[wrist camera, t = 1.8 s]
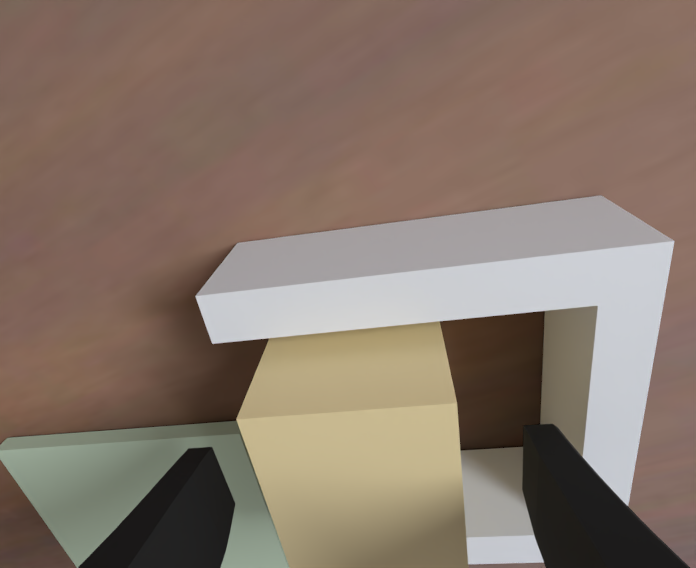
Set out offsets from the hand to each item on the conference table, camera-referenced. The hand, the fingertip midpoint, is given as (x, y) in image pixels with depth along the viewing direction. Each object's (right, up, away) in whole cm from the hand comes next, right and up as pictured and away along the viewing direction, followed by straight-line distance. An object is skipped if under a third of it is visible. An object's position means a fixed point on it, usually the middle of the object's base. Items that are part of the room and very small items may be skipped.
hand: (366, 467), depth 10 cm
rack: (+2, +2, +3) cm, 4 cm away
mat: (-8, -5, +7) cm, 11 cm away
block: (0, +2, +3) cm, 4 cm away
